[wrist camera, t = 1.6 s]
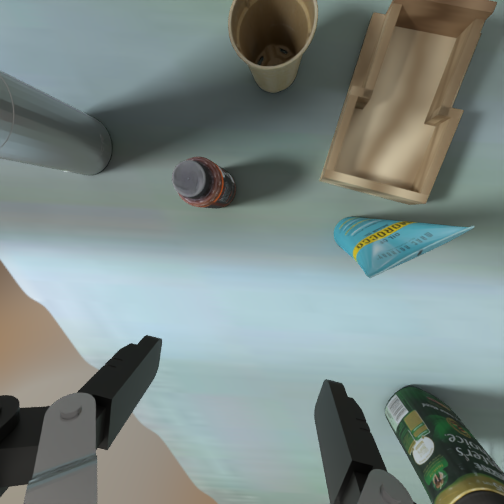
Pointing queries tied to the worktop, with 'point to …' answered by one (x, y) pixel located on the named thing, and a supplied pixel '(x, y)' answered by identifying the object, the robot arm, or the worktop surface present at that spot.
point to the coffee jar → (443, 450)
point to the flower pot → (272, 37)
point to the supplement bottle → (203, 183)
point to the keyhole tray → (405, 98)
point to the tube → (390, 241)
